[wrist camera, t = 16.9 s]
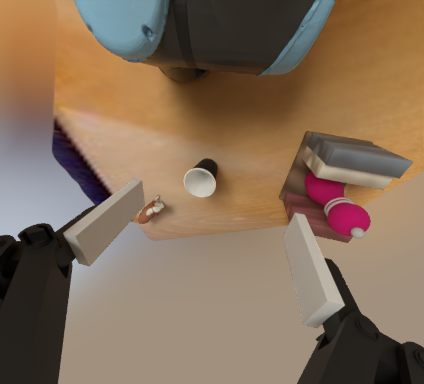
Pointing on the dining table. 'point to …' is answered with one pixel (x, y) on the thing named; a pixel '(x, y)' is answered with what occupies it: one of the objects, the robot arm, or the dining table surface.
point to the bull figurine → (150, 211)
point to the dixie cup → (201, 178)
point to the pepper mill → (337, 206)
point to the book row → (336, 174)
